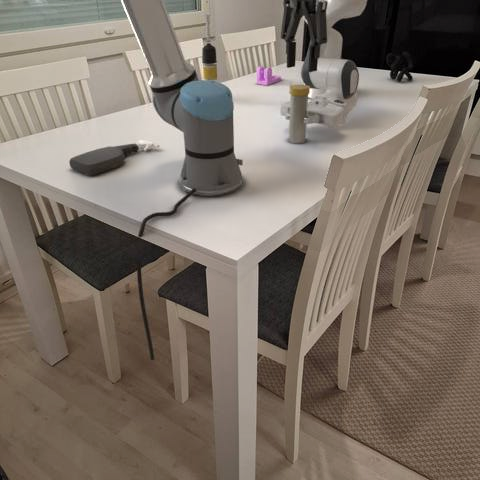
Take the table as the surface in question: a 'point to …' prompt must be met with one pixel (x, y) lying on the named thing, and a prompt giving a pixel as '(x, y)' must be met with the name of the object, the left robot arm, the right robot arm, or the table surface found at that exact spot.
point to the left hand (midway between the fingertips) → (301, 68)
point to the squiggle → (399, 66)
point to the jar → (297, 118)
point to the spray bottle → (106, 157)
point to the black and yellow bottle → (209, 57)
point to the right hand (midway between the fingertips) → (296, 119)
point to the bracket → (266, 76)
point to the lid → (299, 90)
